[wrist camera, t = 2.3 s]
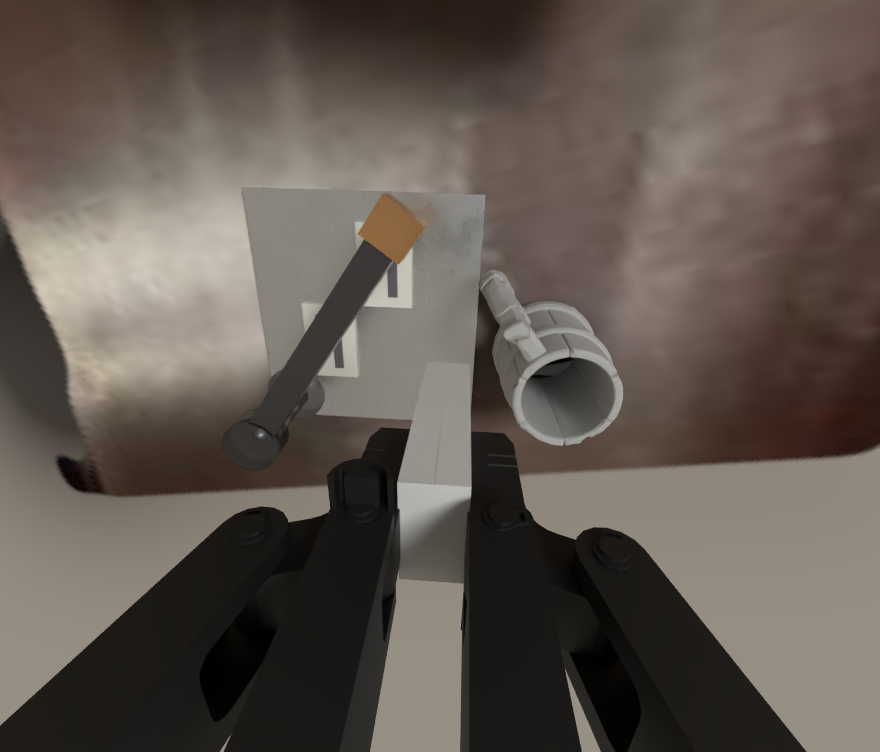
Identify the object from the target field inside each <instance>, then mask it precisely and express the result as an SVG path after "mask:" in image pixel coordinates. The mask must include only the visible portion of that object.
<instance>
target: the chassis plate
mask: <svg viewBox="0 0 880 752" xmlns="http://www.w3.org/2000/svg"><path fill="white" fill-rule="evenodd" d="M242 192H243V198H244V205H245V211H246V218H247V224H248V230H249V237H250V243H251V249H252V256H253V262H254V269H255V275H256V281H257V288H258V294H259V301H260V307H261V313H262V320H263V326H264V332H265V339H266V345H267V352H268V358H269V364H270V371H271V377H272V376H273V375H274V374H275V373H277V372H278V371H280V370H282V369H283V368H284V366H285V365H286V363H287V361H288V360H289V358H290V357H291V355H292V353H293V352H294V350H295V349H296V347H297V346H298V344H299V342H300V341H301V339H302V338H303V336H304V334H305V329H304V321H303V312H302V303H303V302H308V303H324V302H325V301H326V299H327V298H328V296H329V295H330V293H331V291H332V290H333V288H334V287H335V285H336V283H337V282H338V280H339V279H340V277H341V275H342V274H343V272H344V271H345V269H346V267H347V266H348V264H349V263H350V261H351V259H352V258H353V256H354V255H355V253H356V234H355V222H365V221H366V219H367V218H368V216H369V214H370V213H371V211H372V209H373V208H374V206H375V205H376V203H377V201H378V200H379V198H380V197H381V195H382V194H391V195H392V196H394V197H395V198H396V199H397V200H399V201H400V202H401V203H402V204H404V205H405V206H406V207H408V208H409V209H410V210H411V211H413V212H414V213H415V214H416V215H418V216H419V217H420V218H421V219H423V220H424V221H425V222H426V223H428V225H427V226H426V228H425V229H424V231H423V232H422V234H421V235H420V237H419V238H418V239H417V241H416V242H415V244H414V245H413V247H412V308H392V307H369V306H363V308H362V309H361V311H360V312H359V314H358V315H357V317H356V318H355V324H356V341H357V358H358V374H359V376H358V377H341V376H322V375H317V376H316V377H315V378H316V379H317V380H318V381H319V383H320V384H321V386H322V388H323V391H324V402H323V405H322V407H321V409H320V410H319V411H318V412H317V413H316V414H315V415H331V416H349V417H367V418H384V419H402V420H413V417H414V413H415V409H416V404H417V400H418V396H419V392H420V388H421V384H422V380H423V376H424V372H425V368H426V364H427V362H435V363H455V364H470V414H471V400H472V385H473V370H474V355H475V340H476V326H477V311H478V296H479V281H480V266H481V251H482V236H483V221H484V206H485V195H475V194H442V193H409V192H376V191H343V190H310V189H277V188H244V187H242Z"/></svg>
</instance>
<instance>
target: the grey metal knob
mask: <svg viewBox="0 0 880 752" xmlns="http://www.w3.org/2000/svg"><path fill="white" fill-rule="evenodd" d="M281 371H282V370H280V371H278V372H277V373H275V374H274V375H273V376H272V378H271V379H270V381H269V385H268V392H269V390H270V389H271V387H272V385H273V384H274V382H275V381H276V379H277V377H278V376H279V374H280V373H281ZM323 402H324V391H323V388H322V386H321V384H320V383H319V381H318V380H317V379H316V378H315V379H314V380H313V382H312V383H311V385H310V386H309V388H308V389H307V391H306V392H305V394H304V395H303V397H302V398H301V400H300V401H299V403H298V404H297V406H296V407H295V408H294V410H293V411H292V413H291V414H290V416H289V417H288V419H287V420H286V422H285V424H286V426H288V425H289V424H290V422H291V421H292V420H293V419H294V418H297V419H305V418H309V417H312V416H313V415H315V414H316V413H317V412H318V411H319V410H320V409H321V407H322V405H323Z"/></svg>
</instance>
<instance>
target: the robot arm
mask: <svg viewBox="0 0 880 752" xmlns="http://www.w3.org/2000/svg"><path fill="white" fill-rule="evenodd" d="M327 481H328V490H329V500H330V510H329V512H328V513H326V514H324V515H322V516H319V517H315V518H312V519H306V520H300V521H295V522H290V523H288V519H287V518H286V516H285V515H284V513H283V512H281V511H280V510H278V509H276V508H271V507H258V508H251V509H247V510H245V511H242V512H240V513H237V514H235V515H233V516H232V517H231V518H229V519H228V520H226V521H225V522H224V523H222V524H221V525H220V526H219V527H218V528H217V529H216V530H215V531H214V532H212V533H211V534H210V535H209V536H208V537H207V538H206V539H205V540H204V541H203V542H201V543H200V544H199V545H198V546H197V547H196V548H195V549H194V550H193V551H192V552H191V553H189V554H188V555H187V556H186V557H185V558H184V559H183V560H182V561H181V562H179V564H178V565H176V566H175V567H174V568H173V569H172V570H171V571H170V572H168V573H167V574H166V575H165V576H164V577H163V578H162V579H161V580H160V581H159V582H158V583H156V584H155V585H154V586H153V587H152V588H151V589H150V590H149V591H148V592H147V593H145V595H143V596H142V597H141V598H140V599H139V600H138V601H137V602H136V603H134V604H133V605H132V606H131V607H130V608H129V609H128V610H127V611H126V612H125V613H124V614H122V615H121V616H120V617H119V618H118V619H117V620H116V621H115V622H114V623H113V624H111V626H109V627H108V628H107V629H106V630H105V631H104V632H103V633H101V634H100V635H99V636H98V637H97V638H96V639H95V640H94V641H93V642H92V643H91V644H89V645H88V646H87V647H86V648H85V649H84V650H83V651H82V652H81V653H79V654H78V655H77V656H76V657H75V658H74V659H73V660H72V661H71V662H70V663H69V664H67V666H65V667H64V668H63V669H62V670H61V671H60V672H59V673H58V674H57V675H55V676H54V677H53V678H52V679H51V680H50V681H49V682H48V683H47V684H45V685H44V686H43V687H42V688H41V689H40V690H39V691H38V692H37V693H36V694H35V695H33V696H32V697H31V698H30V699H29V700H28V701H27V702H26V703H25V704H23V705H22V706H21V707H20V708H19V709H18V710H17V711H16V712H15V713H14V714H13V715H11V716H10V717H9V718H8V719H7V720H6V721H5V722H4V723H3V724H2V725H0V752H220V750H221V749H222V747H223V746H224V744H225V742H226V741H227V739H228V738H229V736H230V735H231V736H230V739H229V741H228V743H227V745H226V748H225V750H224V752H370V748H371V741H372V736H373V730H374V725H375V719H376V713H377V708H378V701H379V695H380V690H381V684H382V679H383V673H384V667H385V661H386V656H387V650H388V644H389V638H390V632H391V627H392V621H393V615H394V610H395V604H396V580H397V575H398V570H399V579H411V580H424V581H437V582H451V583H464V593H463V607H462V621H461V630H462V673H461V674H462V675H461V738H460V739H461V740H460V752H582V751H581V746H580V741H579V736H578V731H577V727H576V721H575V717H574V712H573V707H572V702H571V697H570V692H569V688H568V682H567V677H566V672H565V669H566V671H567V674H568V676H569V678H570V680H571V683H572V685H573V688H574V690H575V692H576V695H577V697H578V699H579V702H580V704H581V706H582V708H583V711H584V713H585V716H586V718H587V720H588V722H589V725H590V727H591V729H592V732H593V734H594V736H595V739H596V741H597V743H598V746H599V748H600V750H601V752H806V751H805V749H804V748H803V747H802V746H801V744H800V743H799V742H798V741H797V739H796V738H795V737H794V736H793V734H792V733H791V732H790V731H789V729H788V728H787V727H786V726H785V724H784V723H783V722H782V721H781V720H780V718H779V717H778V716H777V714H776V713H775V712H774V711H773V710H772V708H771V707H770V706H769V704H768V703H767V702H766V701H765V700H764V698H763V697H762V696H761V694H760V693H759V692H758V691H757V689H756V688H755V687H754V686H753V684H752V683H751V682H750V681H749V679H748V678H747V677H746V676H745V675H744V673H743V672H742V671H741V669H740V668H739V667H738V666H737V665H736V663H735V662H734V661H733V659H732V658H731V657H730V656H729V654H728V653H727V652H726V651H725V649H724V648H723V647H722V646H721V644H720V643H719V642H718V641H717V639H716V638H715V637H714V636H713V634H712V633H711V632H710V631H709V629H708V628H707V627H706V626H705V624H704V623H703V622H702V621H701V619H700V618H699V617H698V616H697V614H696V613H695V612H694V611H693V610H692V608H691V607H690V606H689V604H688V603H687V602H686V601H685V599H684V598H683V597H682V596H681V594H680V593H679V592H678V591H677V589H676V588H675V587H674V586H673V585H672V583H671V582H670V581H669V579H668V578H667V577H666V576H665V574H664V573H663V572H662V571H661V569H660V568H659V567H658V565H657V564H656V563H655V562H654V560H652V558H651V557H650V555H649V554H648V553H647V552H646V551H645V549H643V547H642V546H640V545H639V544H638V543H637V542H636V541H635V540H634V539H632V538H630V537H628V536H627V535H625V534H623V533H622V532H619V531H616V530H612V529H609V528H596V527H594V528H591V529H588V530H584V531H583V532H582V533H581V534H580V535H579V536H578V537H577V539H576V540H575V539H571V538H568V537H565V536H562V535H559V534H556V533H554V532H551V531H549V530H546V529H545V528H544V527H542V526H540V525H539V524H538V523H536V522H535V521H534V519H533V517H532V515H531V513H530V512H529V511H528V510H527V509H526V507H525V504H524V498H523V493H522V488H521V483H520V477H519V472H518V468H517V461H516V458H515V450H514V445H513V443H512V442H511V441H510V440H509V438H508V437H507V436H506V435H505V434H504V433H489V432H471V414H470V364H455V363H435V362H427V364H426V368H425V372H424V376H423V380H422V384H421V388H420V392H419V396H418V400H417V404H416V409H415V413H414V417H413V421H412V425H411V429H397V428H380V429H379V430H378V431H377V432H375V433H374V434H373V435H372V436H371V437H370V439H369V441H368V443H367V446H366V450H365V451H364V453H363V456H362V458H360V459H353V460H349V461H346V462H343V463H341V464H339V465H338V466H336V467H334V468H333V469H332V470H331V471H330V473H329V474H328V475H327ZM231 733H232V734H231Z"/></svg>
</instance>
